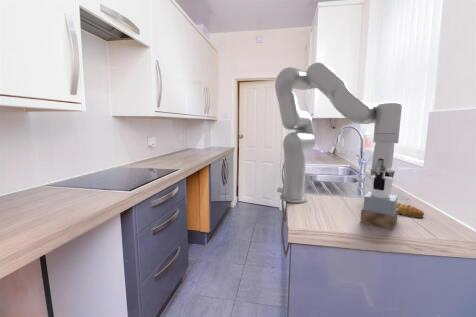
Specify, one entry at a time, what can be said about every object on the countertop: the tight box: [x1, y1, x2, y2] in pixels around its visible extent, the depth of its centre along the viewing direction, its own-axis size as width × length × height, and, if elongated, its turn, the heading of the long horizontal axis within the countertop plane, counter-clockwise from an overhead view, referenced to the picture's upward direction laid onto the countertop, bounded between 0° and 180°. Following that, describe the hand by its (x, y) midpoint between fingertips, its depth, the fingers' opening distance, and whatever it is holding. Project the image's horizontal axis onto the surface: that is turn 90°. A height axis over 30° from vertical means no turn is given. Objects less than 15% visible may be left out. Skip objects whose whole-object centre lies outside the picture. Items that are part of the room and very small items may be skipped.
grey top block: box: [363, 190, 398, 216], centre depth 86 cm, size 9×9×5 cm
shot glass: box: [370, 175, 394, 198], centre depth 85 cm, size 7×7×7 cm
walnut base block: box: [360, 206, 399, 231], centre depth 87 cm, size 10×10×5 cm
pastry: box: [396, 202, 425, 219], centre depth 95 cm, size 9×7×4 cm
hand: (381, 186), depth 85 cm, fingers open, 8 cm apart
